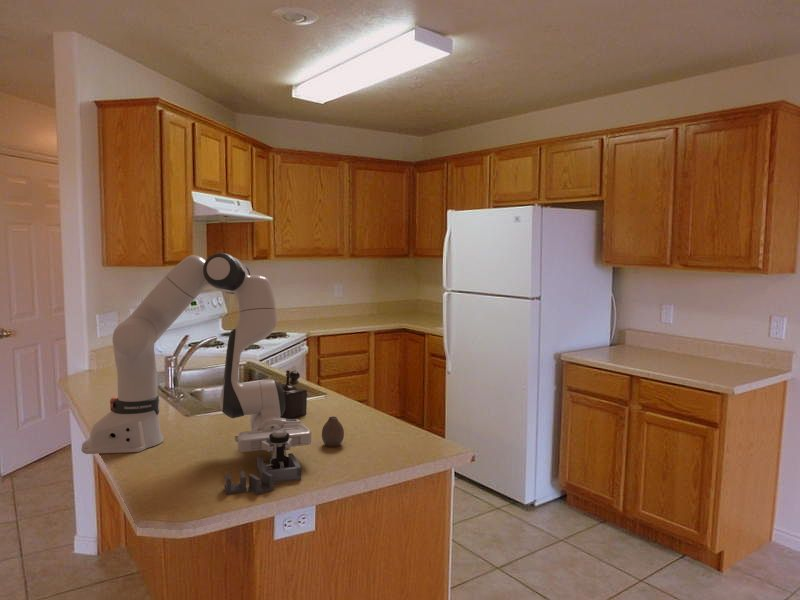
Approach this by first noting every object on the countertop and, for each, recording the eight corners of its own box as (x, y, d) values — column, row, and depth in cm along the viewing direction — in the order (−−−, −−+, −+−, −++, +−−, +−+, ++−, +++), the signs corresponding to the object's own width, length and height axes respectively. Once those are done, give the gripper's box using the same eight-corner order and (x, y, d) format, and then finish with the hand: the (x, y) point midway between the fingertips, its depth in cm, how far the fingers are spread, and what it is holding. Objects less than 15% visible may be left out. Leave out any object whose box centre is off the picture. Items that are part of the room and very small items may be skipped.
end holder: (263, 484, 148) (263, 472, 148) (257, 468, 159) (257, 457, 159) (301, 479, 152) (301, 467, 152) (292, 464, 162) (292, 453, 162)
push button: (271, 474, 151) (271, 436, 151) (261, 468, 155) (261, 432, 154) (293, 467, 156) (293, 431, 155) (282, 462, 160) (282, 427, 159)
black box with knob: (265, 415, 210) (265, 366, 209) (289, 409, 219) (289, 362, 217) (293, 423, 200) (293, 372, 199) (316, 417, 209) (317, 368, 207)
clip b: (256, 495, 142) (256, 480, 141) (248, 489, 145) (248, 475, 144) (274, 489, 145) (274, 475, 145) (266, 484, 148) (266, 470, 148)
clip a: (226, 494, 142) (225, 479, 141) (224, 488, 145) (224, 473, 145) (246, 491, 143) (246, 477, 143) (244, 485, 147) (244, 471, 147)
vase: (326, 450, 175) (326, 421, 174) (318, 443, 181) (318, 415, 180) (347, 446, 178) (347, 419, 177) (339, 440, 184) (339, 413, 183)
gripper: (233, 425, 163) (239, 440, 150) (304, 418, 171) (316, 433, 158) (233, 447, 164) (239, 464, 151) (304, 439, 171) (316, 455, 159)
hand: (279, 448), depth 154 cm, fingers closed on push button, 3 cm apart
